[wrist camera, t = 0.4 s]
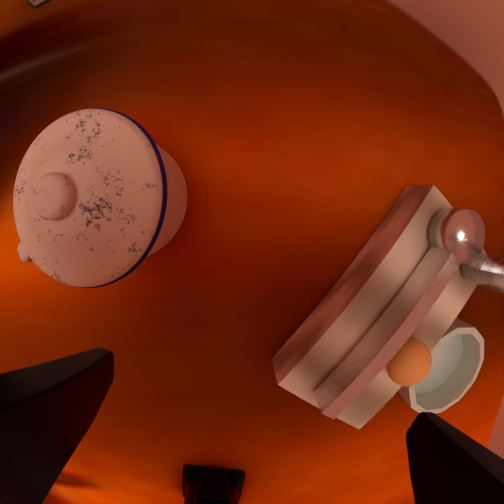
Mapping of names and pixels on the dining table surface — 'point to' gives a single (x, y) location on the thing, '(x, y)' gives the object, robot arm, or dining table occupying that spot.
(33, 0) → the coffee box
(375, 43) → the dining table surface
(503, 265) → the lever
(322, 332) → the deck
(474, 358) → the small white bowl
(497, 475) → the robot arm
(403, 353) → the ball
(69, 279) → the teacup with lid
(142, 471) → the dining table surface
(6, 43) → the dining table surface
